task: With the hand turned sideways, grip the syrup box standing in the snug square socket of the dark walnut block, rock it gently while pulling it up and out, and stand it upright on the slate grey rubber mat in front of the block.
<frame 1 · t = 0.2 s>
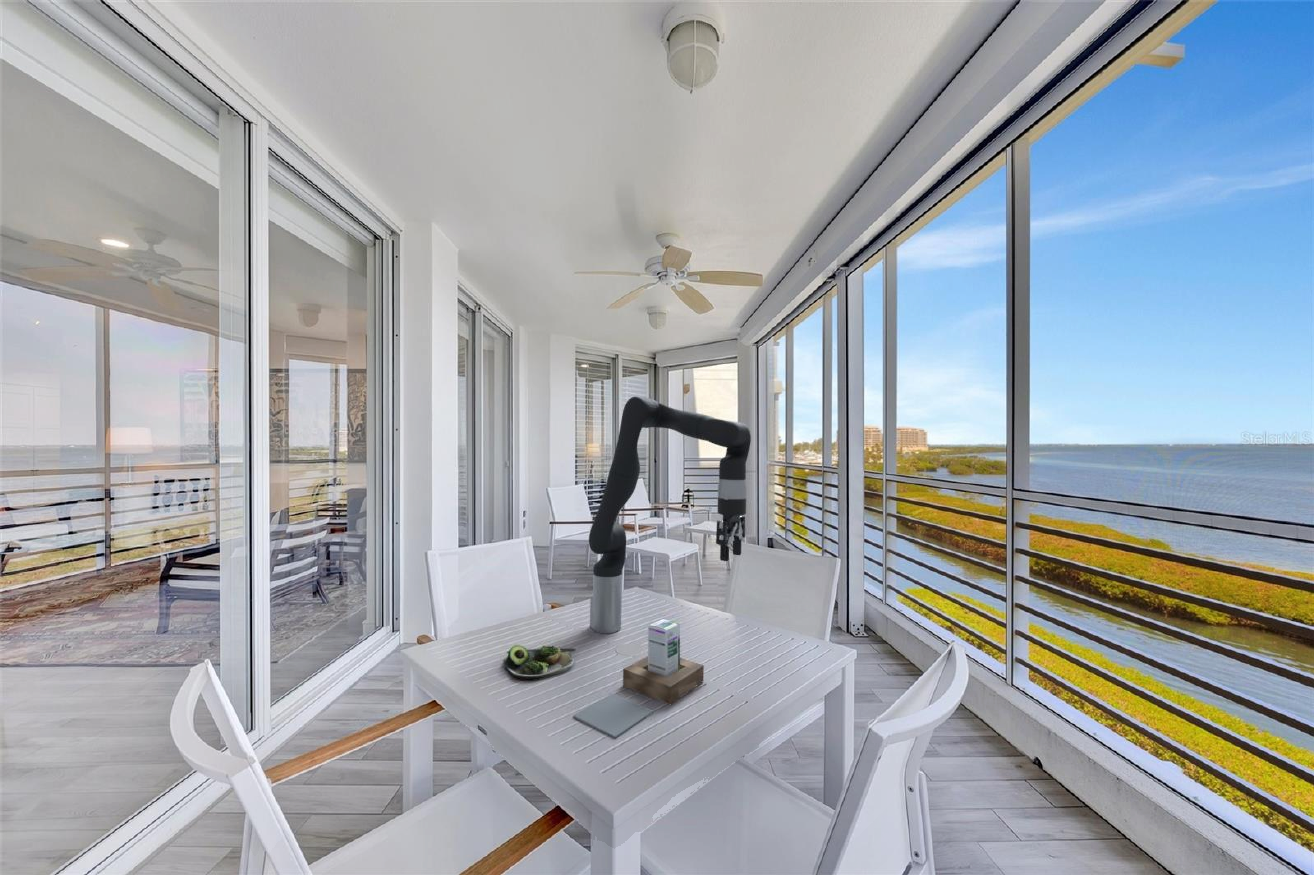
hand: (730, 557, 127), 29 cm above the table, tool pointing down, fingers open, 8 cm apart
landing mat: (613, 715, 102), on the table
syrup box: (663, 684, 116), resting in socket block
salad plate: (536, 667, 125), on the table
socket block: (663, 683, 116), on the table
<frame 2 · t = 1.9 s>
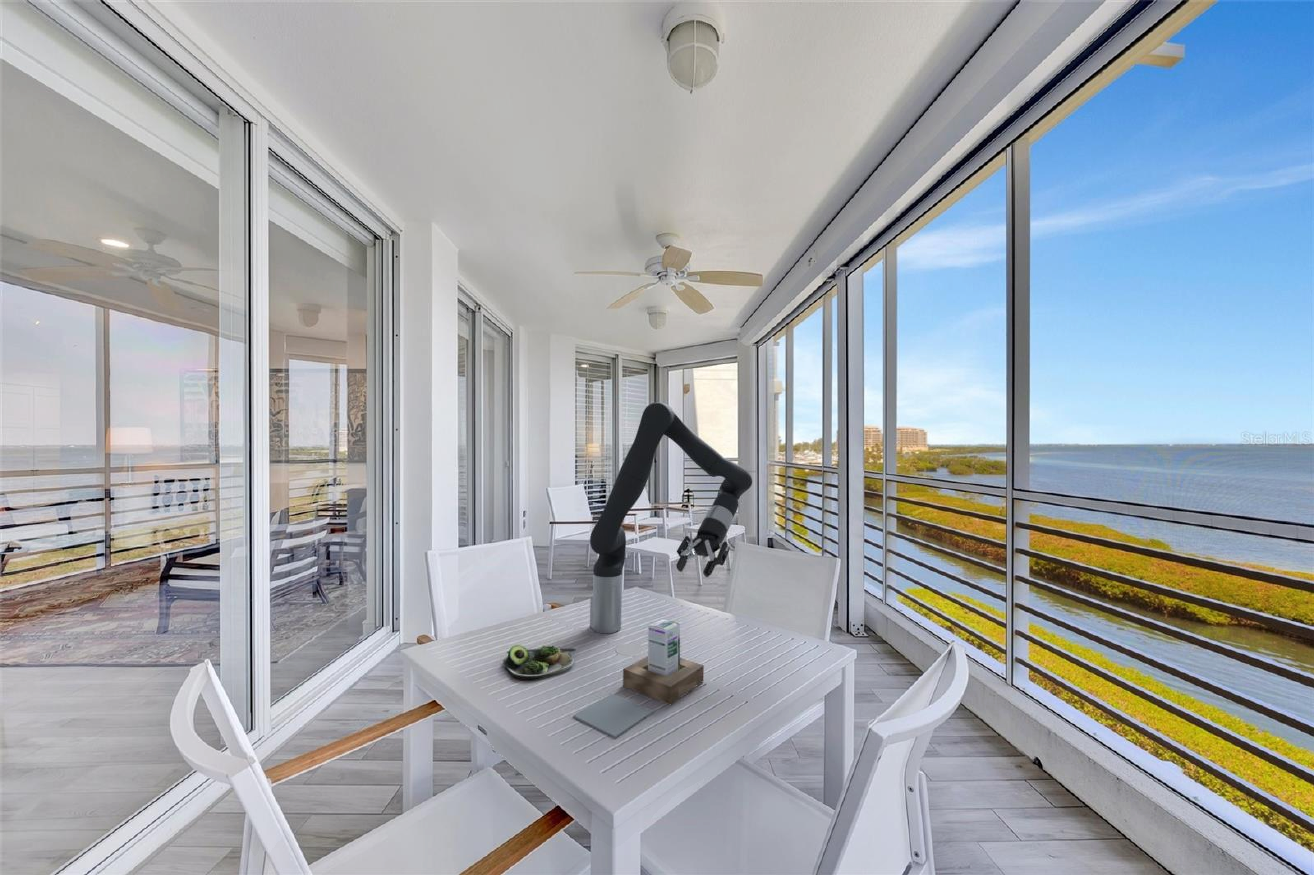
hand: (691, 572, 127), 25 cm above the table, tool tilted 45°, fingers open, 8 cm apart
nothing on the table moved.
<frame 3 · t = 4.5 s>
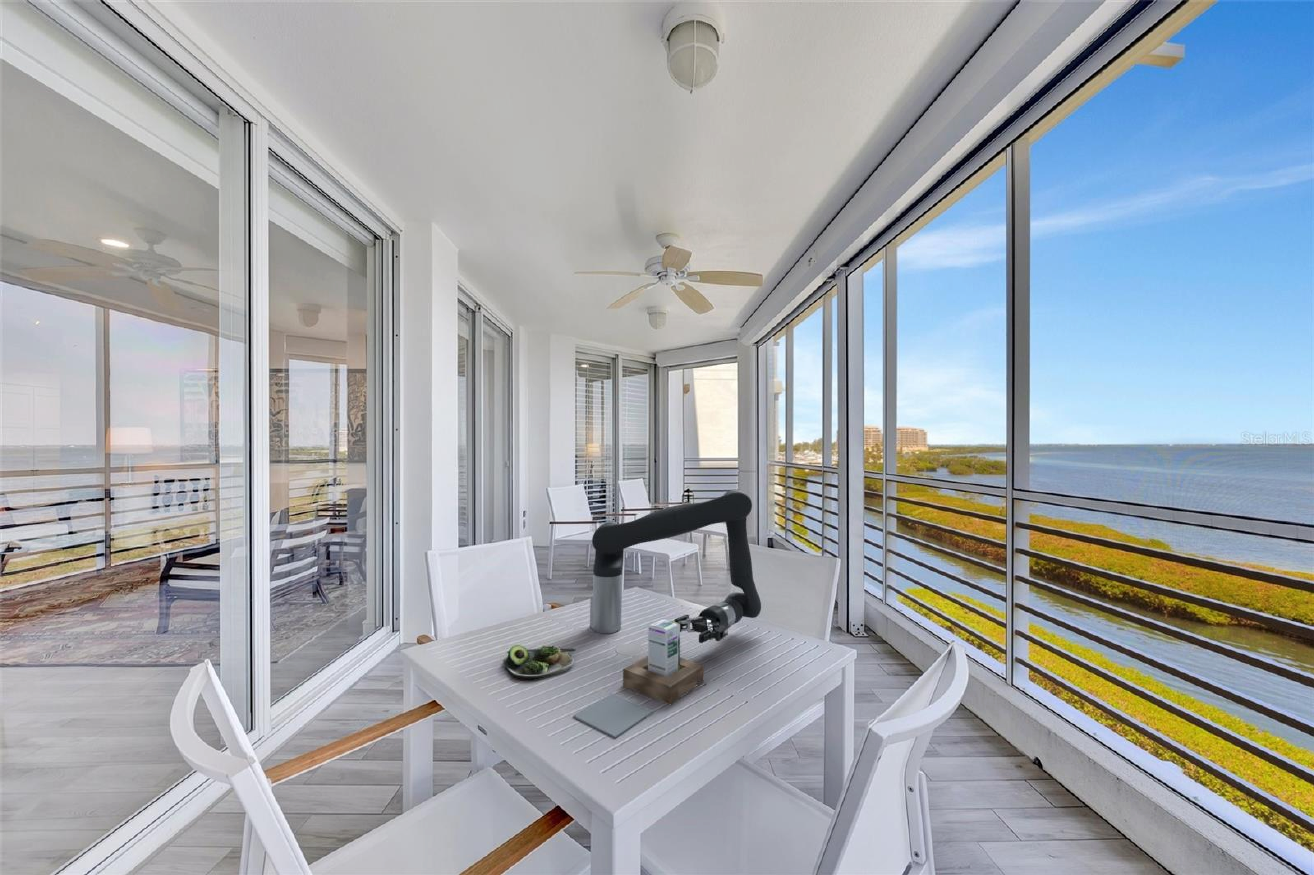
hand: (686, 635, 124), 9 cm above the table, tool horizontal, fingers open, 8 cm apart
nothing on the table moved.
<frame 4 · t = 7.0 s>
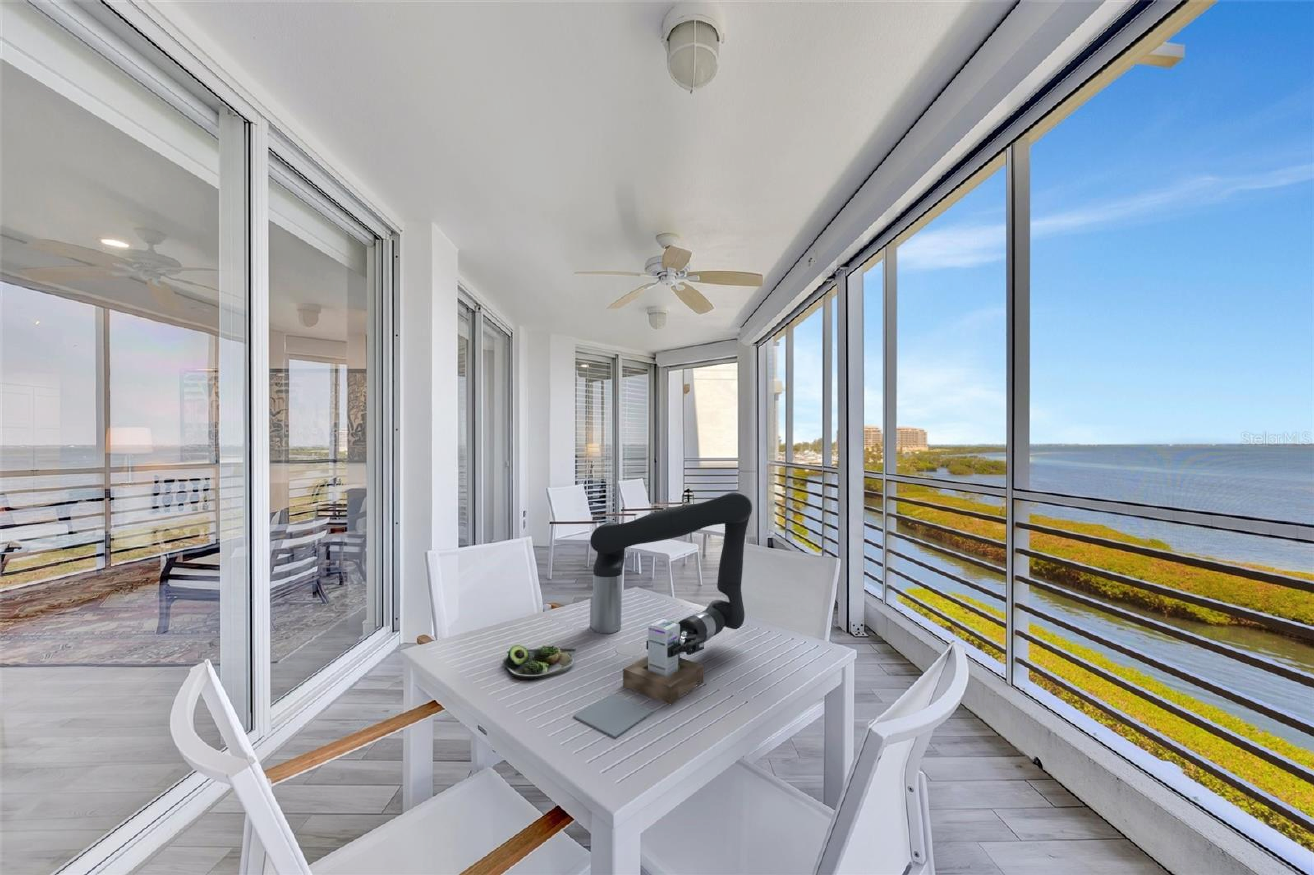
hand: (658, 649, 115), 9 cm above the table, tool horizontal, fingers closed on syrup box, 6 cm apart
syrup box: (663, 684, 116), resting in socket block, touching gripper
everything else where it was.
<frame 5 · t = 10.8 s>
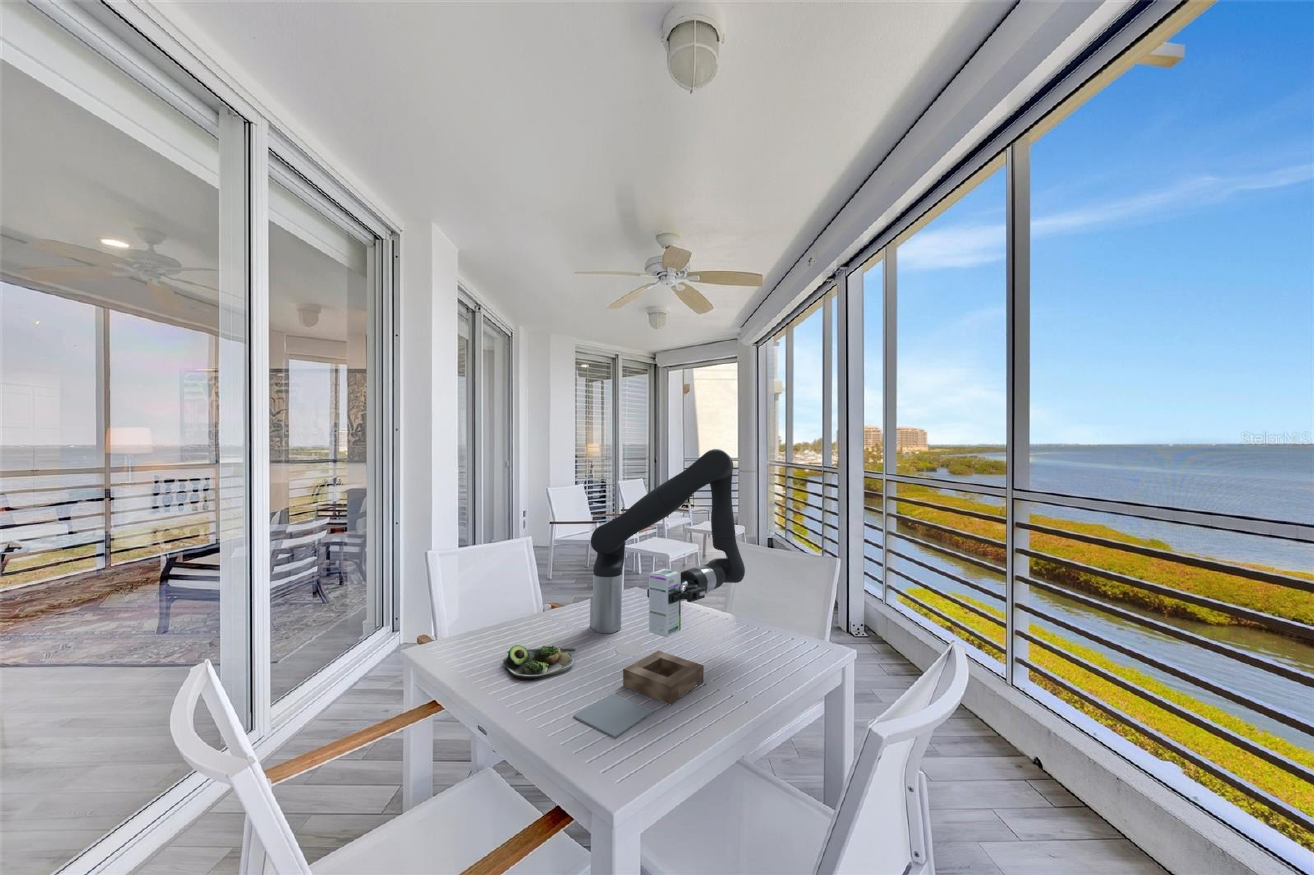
hand: (659, 596, 115), 22 cm above the table, tool horizontal, fingers closed on syrup box, 6 cm apart
syrup box: (664, 632, 117), point 12 cm above the table, touching gripper
everything else where it was.
when the fingers open (11 cm above the table, at t = 14.9 s): syrup box drops 1 cm, resting on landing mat.
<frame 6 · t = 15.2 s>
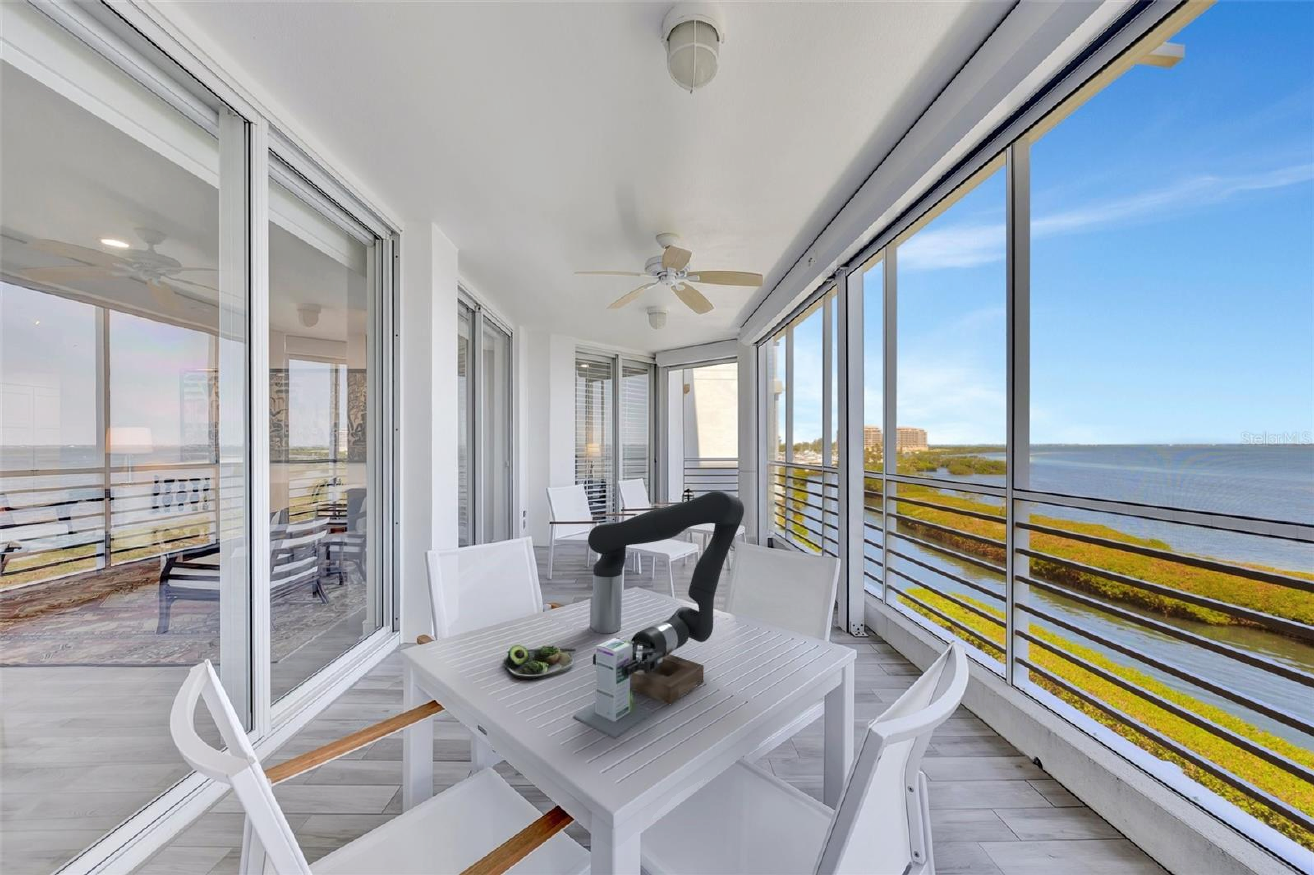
hand: (608, 666, 101), 11 cm above the table, tool horizontal, fingers open, 8 cm apart
syrup box: (613, 713, 102), resting on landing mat
everything else where it was.
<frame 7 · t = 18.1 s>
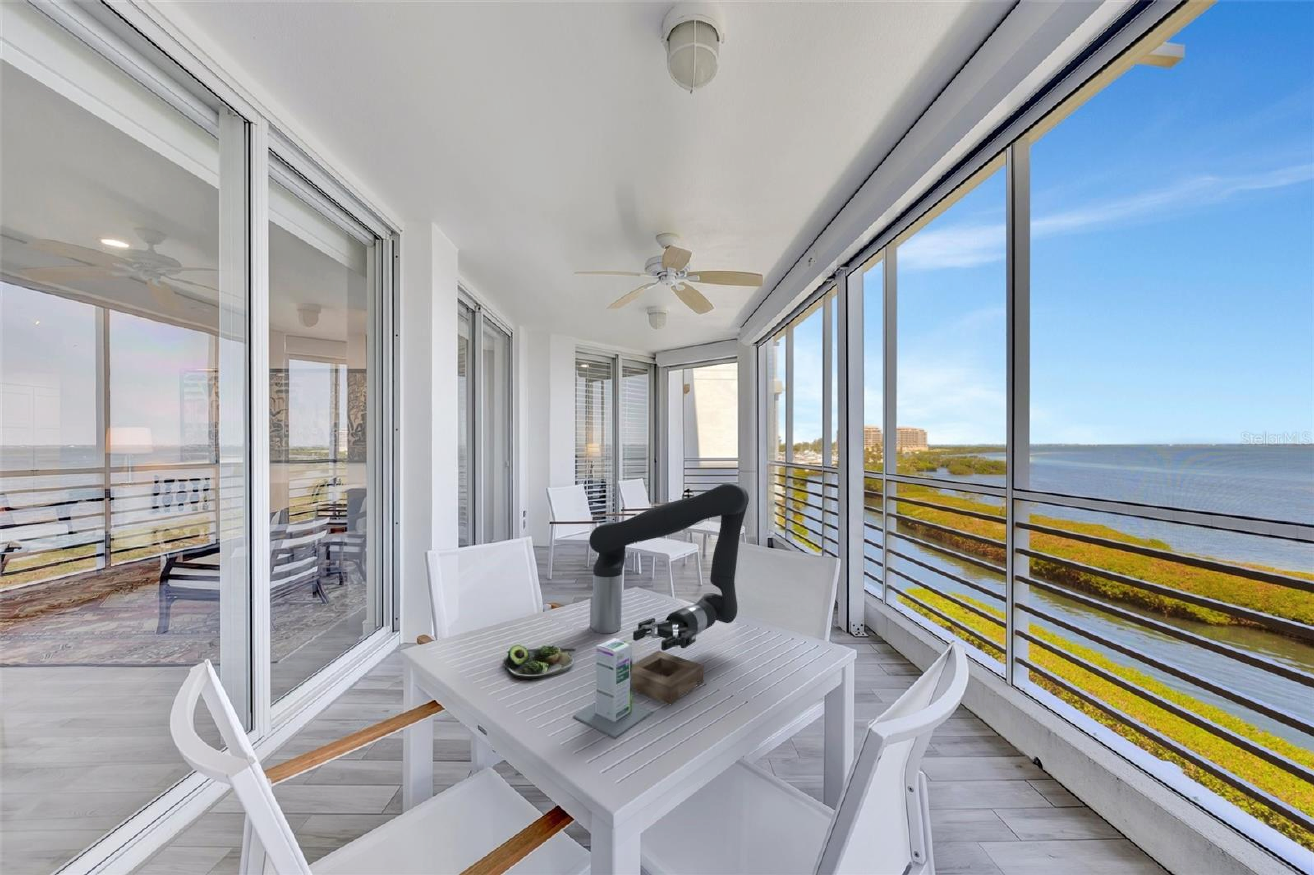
hand: (648, 641, 112), 12 cm above the table, tool horizontal, fingers open, 8 cm apart
nothing on the table moved.
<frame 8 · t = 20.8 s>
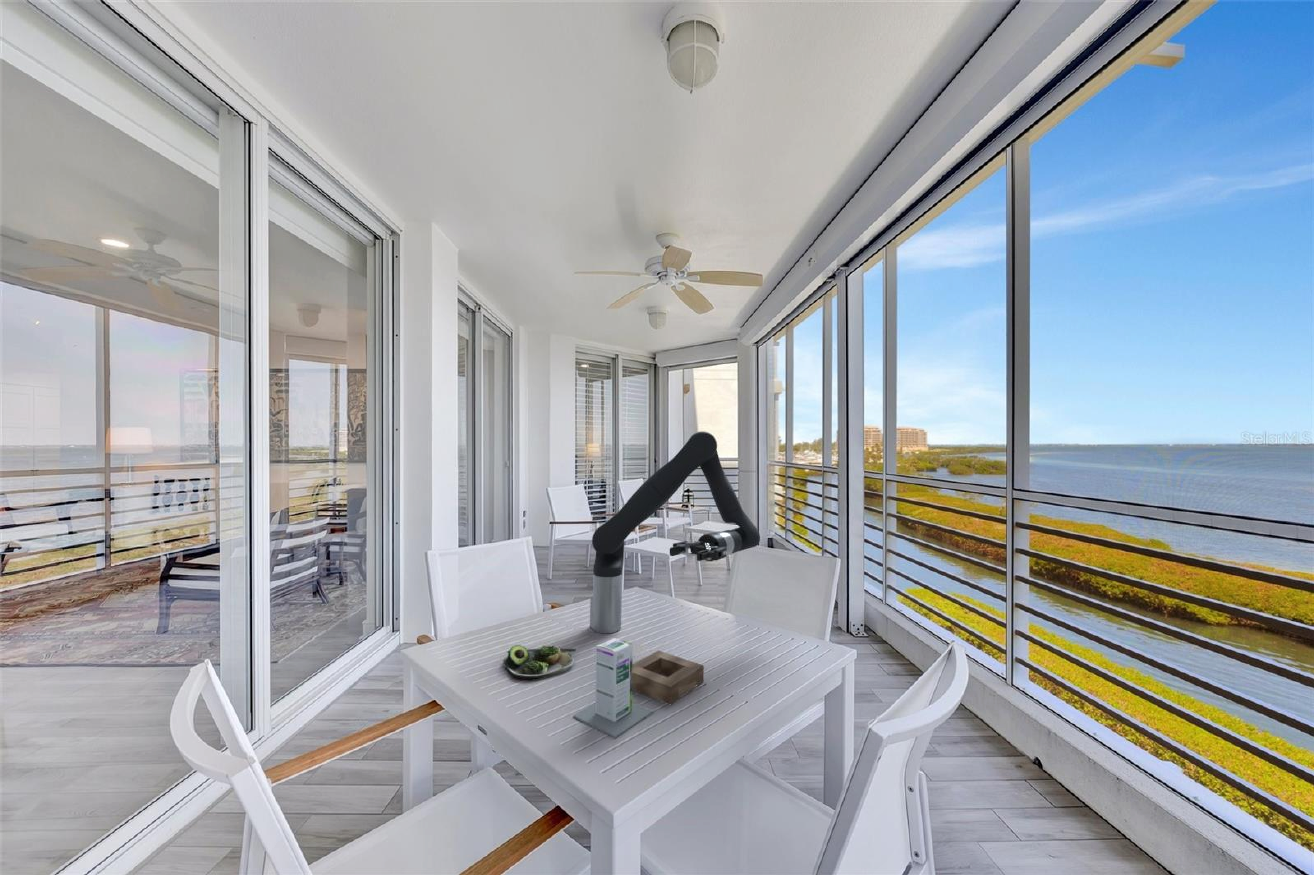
hand: (684, 554, 124), 30 cm above the table, tool horizontal, fingers open, 8 cm apart
nothing on the table moved.
at the end: syrup box inside the target area (0.3 cm from its centre), resting on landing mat; syrup box tilted 0°; the gripper is holding nothing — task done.
